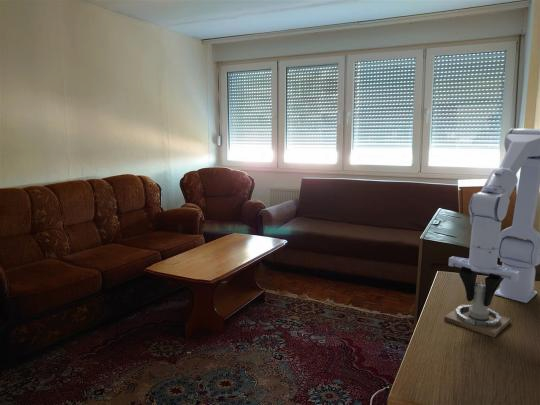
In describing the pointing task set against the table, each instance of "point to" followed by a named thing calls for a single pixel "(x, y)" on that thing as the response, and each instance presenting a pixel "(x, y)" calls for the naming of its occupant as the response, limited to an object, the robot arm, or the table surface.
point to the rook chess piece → (479, 303)
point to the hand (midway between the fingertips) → (478, 302)
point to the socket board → (478, 321)
